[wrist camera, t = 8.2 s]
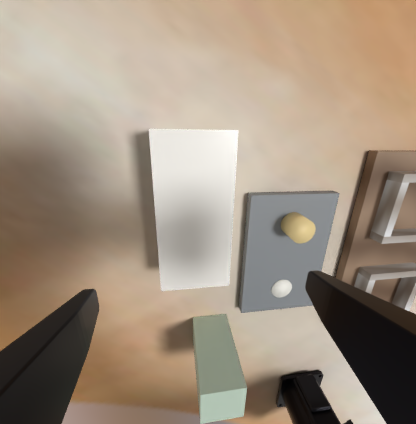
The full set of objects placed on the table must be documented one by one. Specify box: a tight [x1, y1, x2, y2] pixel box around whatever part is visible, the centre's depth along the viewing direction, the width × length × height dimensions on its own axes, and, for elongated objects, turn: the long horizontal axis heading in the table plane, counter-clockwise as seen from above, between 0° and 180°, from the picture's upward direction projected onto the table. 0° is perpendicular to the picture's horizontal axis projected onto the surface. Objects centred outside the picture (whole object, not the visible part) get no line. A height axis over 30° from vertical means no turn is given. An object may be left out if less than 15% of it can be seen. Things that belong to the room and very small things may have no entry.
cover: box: [149, 129, 238, 291], centre depth 18 cm, size 13×6×4 cm, turn 0°
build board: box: [335, 151, 416, 311], centre depth 24 cm, size 22×11×2 cm, turn 0°
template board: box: [239, 191, 339, 313], centre depth 22 cm, size 14×9×3 cm, turn 0°
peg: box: [193, 314, 247, 424], centre depth 22 cm, size 4×4×8 cm
